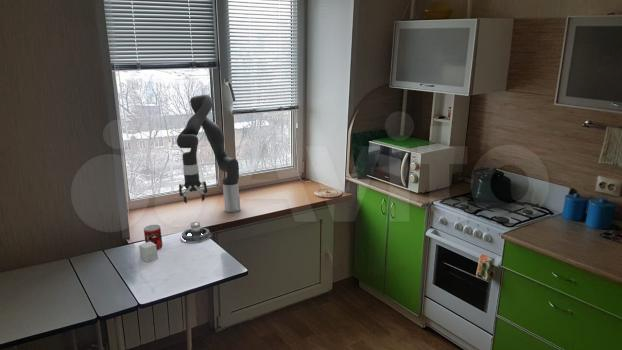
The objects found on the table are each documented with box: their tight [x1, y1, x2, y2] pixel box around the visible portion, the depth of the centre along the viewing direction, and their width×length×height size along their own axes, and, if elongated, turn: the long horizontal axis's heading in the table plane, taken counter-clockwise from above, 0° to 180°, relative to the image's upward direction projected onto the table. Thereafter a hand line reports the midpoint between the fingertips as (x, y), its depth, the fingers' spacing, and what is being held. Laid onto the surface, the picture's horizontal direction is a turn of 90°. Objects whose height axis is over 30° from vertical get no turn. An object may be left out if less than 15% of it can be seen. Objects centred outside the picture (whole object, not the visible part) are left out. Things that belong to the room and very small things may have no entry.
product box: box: [138, 241, 159, 263], centre depth 222 cm, size 6×6×7 cm
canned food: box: [143, 224, 163, 251], centre depth 234 cm, size 8×8×11 cm
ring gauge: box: [181, 227, 212, 243], centre depth 248 cm, size 16×16×3 cm
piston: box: [190, 221, 201, 237], centre depth 247 cm, size 5×5×7 cm
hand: (194, 201), depth 246 cm, fingers open, 8 cm apart
